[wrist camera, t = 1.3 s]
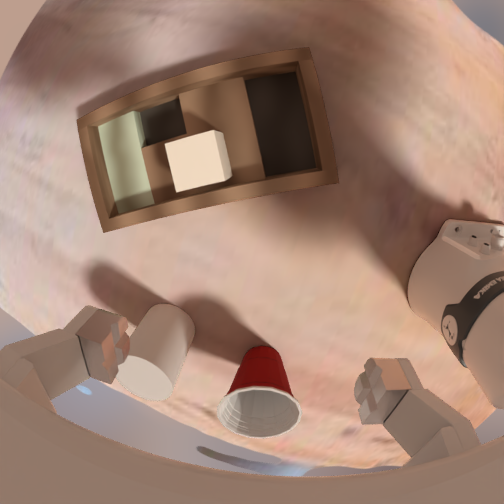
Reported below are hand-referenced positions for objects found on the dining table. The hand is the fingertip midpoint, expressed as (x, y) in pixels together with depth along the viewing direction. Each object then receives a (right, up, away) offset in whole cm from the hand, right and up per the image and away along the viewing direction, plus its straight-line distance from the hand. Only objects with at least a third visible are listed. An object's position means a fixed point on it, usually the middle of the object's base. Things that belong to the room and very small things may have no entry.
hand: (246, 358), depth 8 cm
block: (-5, +14, +21) cm, 26 cm away
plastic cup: (+2, -13, +33) cm, 36 cm away
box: (-6, +17, +22) cm, 28 cm away
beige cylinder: (-12, -8, +32) cm, 36 cm away
